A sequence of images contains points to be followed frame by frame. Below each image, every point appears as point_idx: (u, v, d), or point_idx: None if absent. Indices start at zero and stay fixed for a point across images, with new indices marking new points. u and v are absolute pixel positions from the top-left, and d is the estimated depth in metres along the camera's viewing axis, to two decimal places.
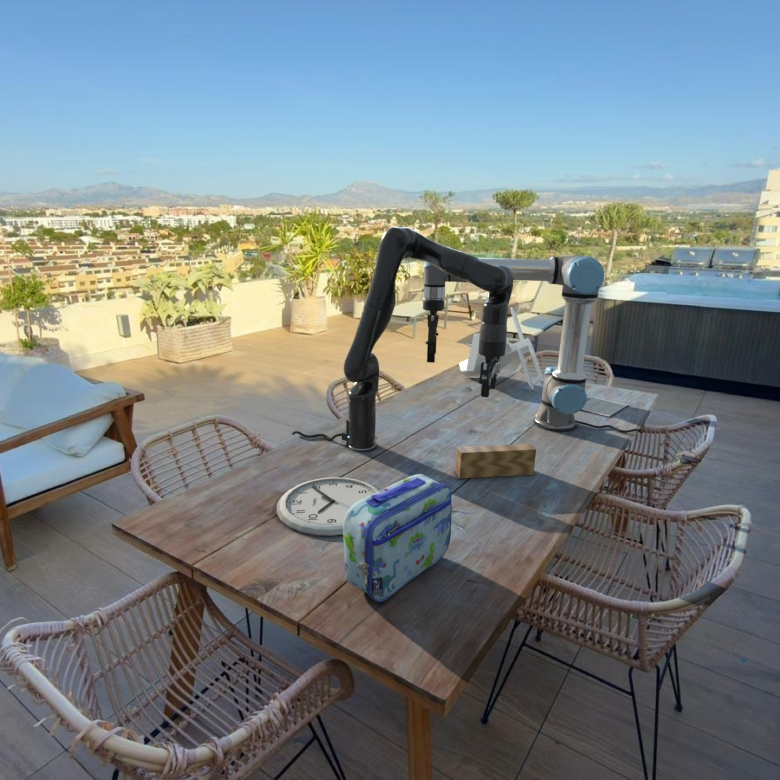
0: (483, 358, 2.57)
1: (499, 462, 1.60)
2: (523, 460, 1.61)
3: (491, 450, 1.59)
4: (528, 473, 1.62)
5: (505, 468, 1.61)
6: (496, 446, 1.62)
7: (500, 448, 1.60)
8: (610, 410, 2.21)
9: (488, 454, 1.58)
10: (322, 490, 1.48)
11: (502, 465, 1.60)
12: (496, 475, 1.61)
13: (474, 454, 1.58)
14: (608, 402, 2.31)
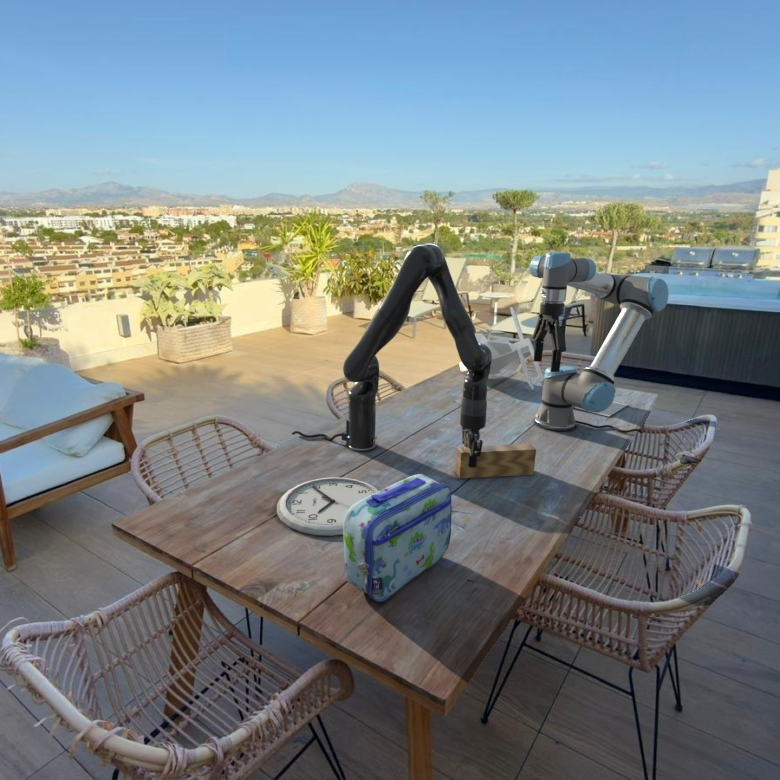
0: None
1: (499, 462, 1.60)
2: (523, 460, 1.61)
3: (491, 450, 1.59)
4: (528, 473, 1.62)
5: (505, 468, 1.61)
6: (496, 446, 1.62)
7: (500, 448, 1.60)
8: (610, 410, 2.21)
9: (488, 454, 1.58)
10: (322, 490, 1.48)
11: (502, 465, 1.60)
12: (496, 475, 1.61)
13: None
14: None
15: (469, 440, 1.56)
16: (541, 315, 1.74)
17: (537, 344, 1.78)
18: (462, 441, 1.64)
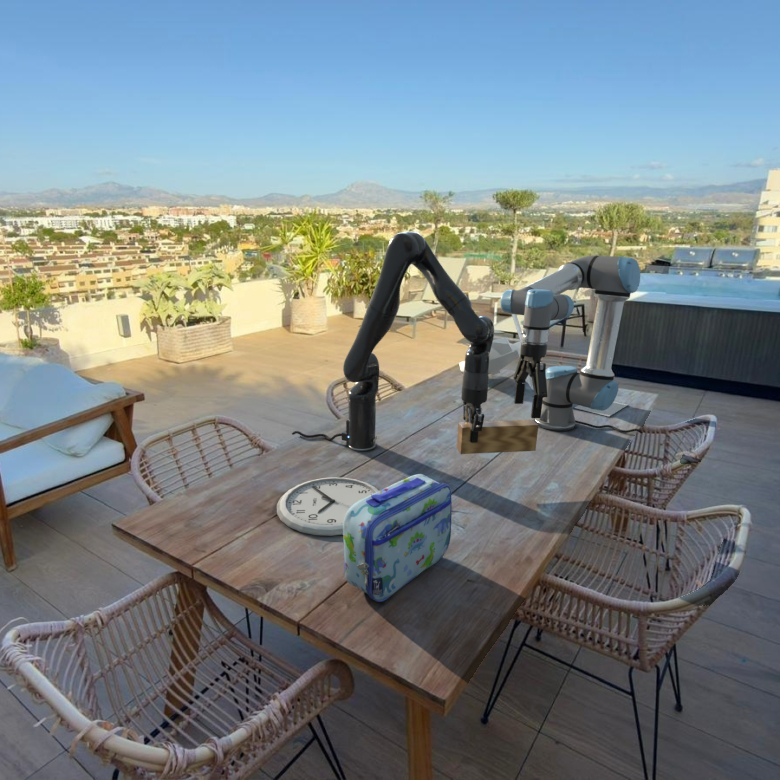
0: None
1: (500, 438, 1.57)
2: (525, 436, 1.58)
3: (492, 425, 1.57)
4: (530, 449, 1.60)
5: (507, 444, 1.58)
6: (498, 422, 1.60)
7: (502, 423, 1.58)
8: (610, 410, 2.21)
9: (489, 430, 1.56)
10: (322, 490, 1.48)
11: (504, 441, 1.58)
12: (498, 451, 1.59)
13: None
14: None
15: (470, 415, 1.54)
16: (522, 355, 1.62)
17: (518, 386, 1.65)
18: (463, 417, 1.61)
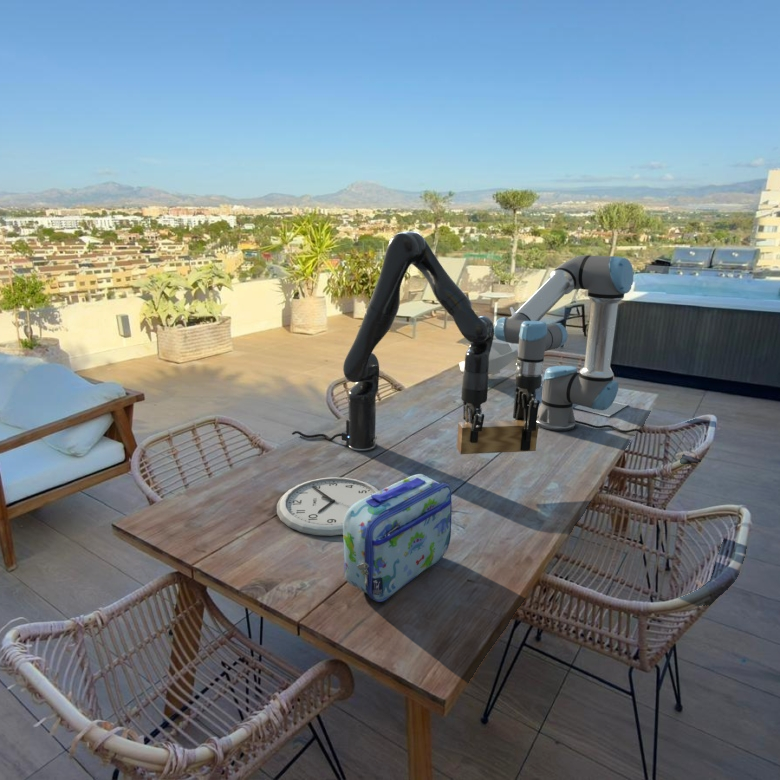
0: None
1: (500, 438, 1.57)
2: None
3: (492, 425, 1.57)
4: (530, 449, 1.60)
5: (507, 444, 1.58)
6: (498, 422, 1.59)
7: (502, 423, 1.58)
8: (610, 410, 2.21)
9: (489, 430, 1.56)
10: (322, 490, 1.48)
11: (504, 441, 1.58)
12: (498, 451, 1.58)
13: None
14: None
15: (470, 415, 1.54)
16: (517, 389, 1.62)
17: None
18: (463, 417, 1.61)
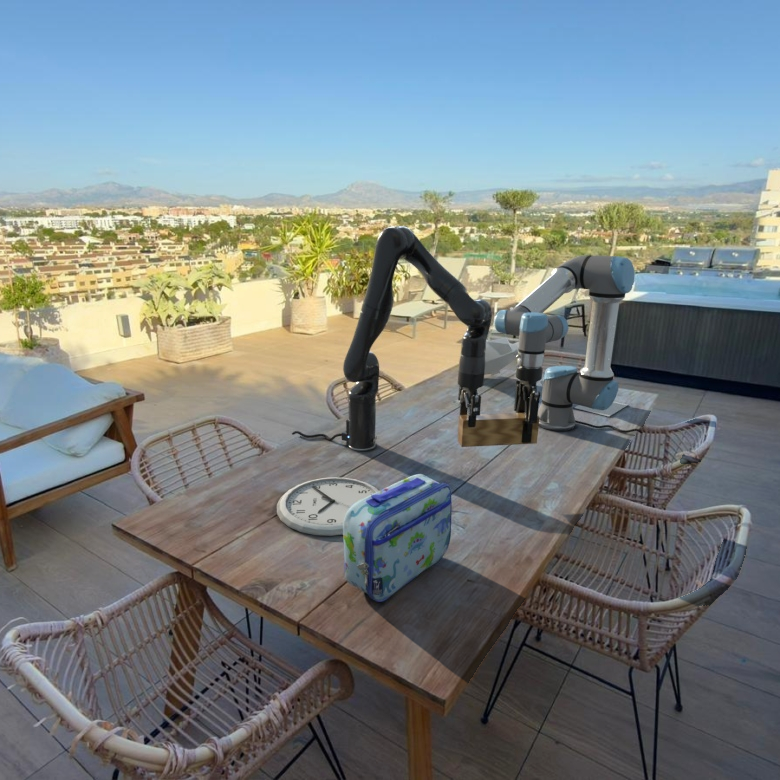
0: None
1: (501, 431, 1.57)
2: None
3: (493, 418, 1.56)
4: (531, 442, 1.59)
5: (508, 436, 1.58)
6: (499, 414, 1.59)
7: (503, 416, 1.57)
8: (610, 410, 2.21)
9: (490, 422, 1.55)
10: (322, 490, 1.48)
11: (505, 433, 1.57)
12: (499, 444, 1.58)
13: (476, 422, 1.55)
14: None
15: None
16: (518, 381, 1.61)
17: None
18: (458, 398, 1.61)
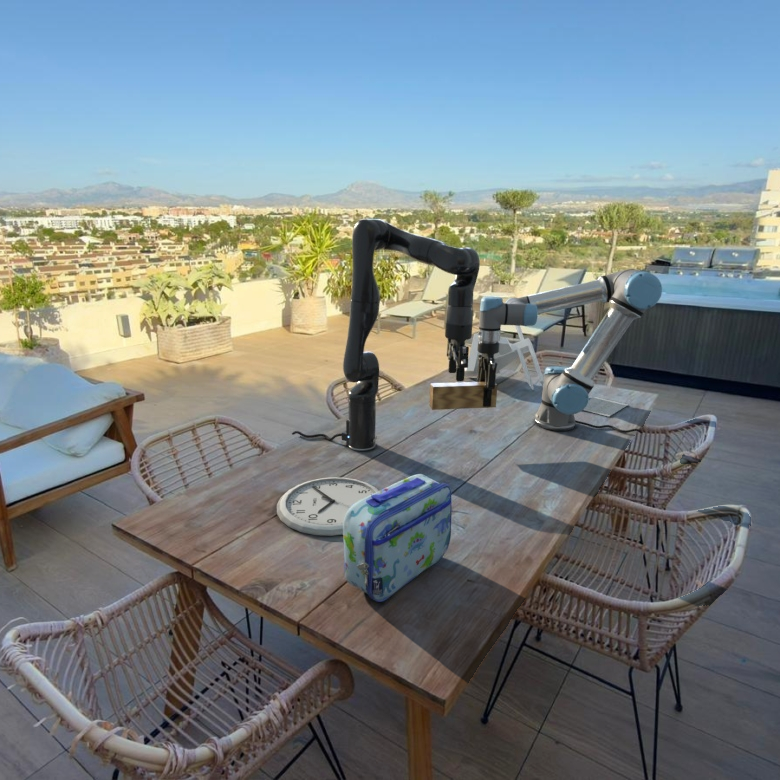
0: None
1: (466, 396, 1.87)
2: None
3: (459, 385, 1.86)
4: (491, 406, 1.90)
5: (471, 401, 1.88)
6: (463, 383, 1.89)
7: (467, 384, 1.88)
8: (610, 410, 2.21)
9: (456, 389, 1.86)
10: (322, 490, 1.48)
11: (469, 398, 1.87)
12: (463, 407, 1.88)
13: (444, 388, 1.85)
14: (608, 402, 2.31)
15: None
16: (480, 355, 1.92)
17: None
18: None
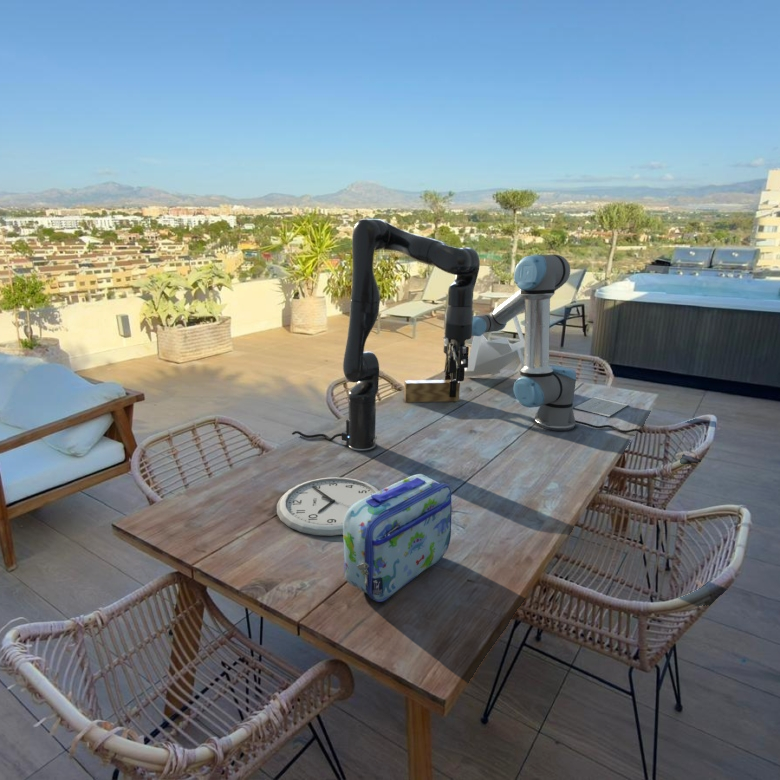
0: (483, 358, 2.57)
1: (433, 391, 2.28)
2: None
3: (427, 382, 2.27)
4: (455, 400, 2.30)
5: (438, 395, 2.29)
6: (432, 380, 2.30)
7: (435, 381, 2.29)
8: (610, 410, 2.21)
9: (425, 385, 2.27)
10: (322, 490, 1.48)
11: (436, 393, 2.28)
12: (431, 400, 2.29)
13: (415, 384, 2.26)
14: (608, 402, 2.31)
15: None
16: None
17: (446, 376, 2.34)
18: None
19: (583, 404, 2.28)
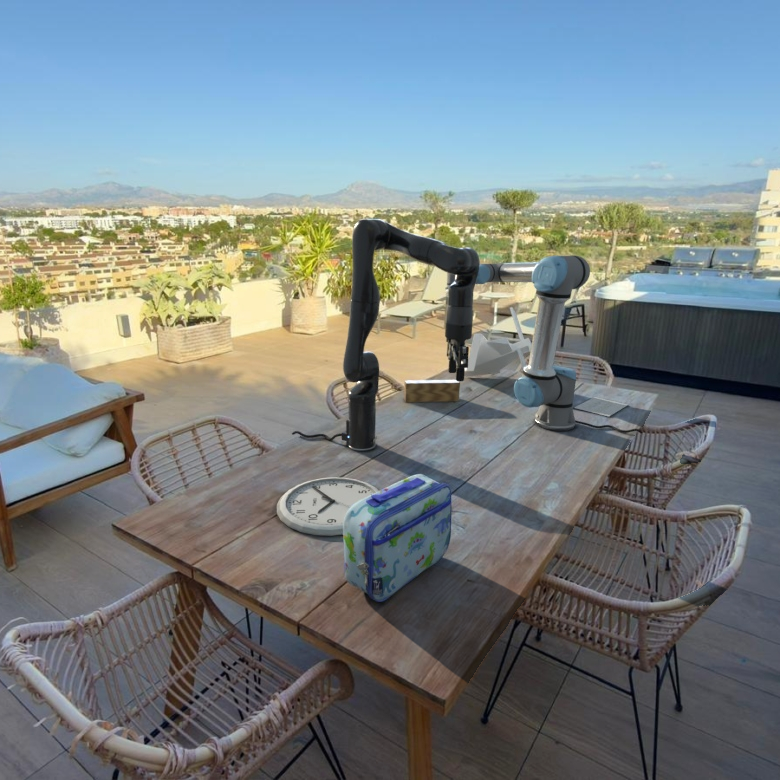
0: (483, 358, 2.57)
1: (433, 391, 2.28)
2: (450, 390, 2.29)
3: (427, 382, 2.27)
4: (455, 400, 2.30)
5: (438, 395, 2.29)
6: (432, 380, 2.30)
7: (435, 381, 2.29)
8: (610, 410, 2.21)
9: (425, 385, 2.27)
10: (322, 490, 1.48)
11: (436, 393, 2.28)
12: (431, 400, 2.29)
13: (415, 384, 2.26)
14: (608, 402, 2.31)
15: None
16: None
17: None
18: None
19: (583, 404, 2.28)
